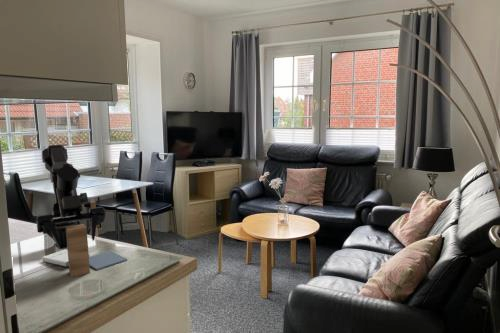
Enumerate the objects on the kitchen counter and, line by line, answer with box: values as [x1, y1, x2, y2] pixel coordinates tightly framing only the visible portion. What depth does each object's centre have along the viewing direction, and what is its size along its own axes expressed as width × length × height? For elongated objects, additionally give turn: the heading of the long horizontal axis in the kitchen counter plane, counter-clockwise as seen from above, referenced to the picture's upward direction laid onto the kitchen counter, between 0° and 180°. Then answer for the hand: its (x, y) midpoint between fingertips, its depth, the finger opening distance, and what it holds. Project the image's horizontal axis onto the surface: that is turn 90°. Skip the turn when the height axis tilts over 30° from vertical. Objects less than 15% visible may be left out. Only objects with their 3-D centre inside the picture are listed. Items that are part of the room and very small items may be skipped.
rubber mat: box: [89, 250, 128, 271], centre depth 117 cm, size 11×10×1 cm
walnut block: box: [66, 223, 91, 278], centre depth 107 cm, size 4×5×14 cm
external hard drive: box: [41, 249, 69, 268], centre depth 117 cm, size 2×8×12 cm
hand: (77, 243), depth 108 cm, fingers open, 9 cm apart
